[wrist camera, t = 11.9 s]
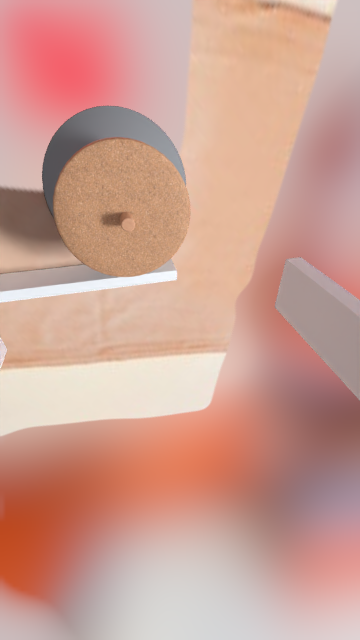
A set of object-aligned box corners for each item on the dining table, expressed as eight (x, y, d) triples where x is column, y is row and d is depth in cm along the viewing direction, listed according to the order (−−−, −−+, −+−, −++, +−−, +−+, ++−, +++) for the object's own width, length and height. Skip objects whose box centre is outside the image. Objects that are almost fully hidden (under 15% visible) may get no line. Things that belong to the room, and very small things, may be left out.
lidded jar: (125, 263, 33) (135, 307, 26) (38, 196, 27) (17, 230, 19) (191, 192, 30) (222, 219, 22) (109, 98, 24) (117, 95, 16)
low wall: (-28, 287, 30) (-42, 307, 27) (-34, 277, 30) (-48, 297, 27) (169, 264, 35) (176, 279, 31) (169, 255, 34) (176, 270, 31)
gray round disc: (64, 263, 31) (64, 264, 31) (19, 106, 23) (19, 106, 22) (185, 250, 34) (185, 251, 34) (185, 105, 25) (186, 105, 25)
